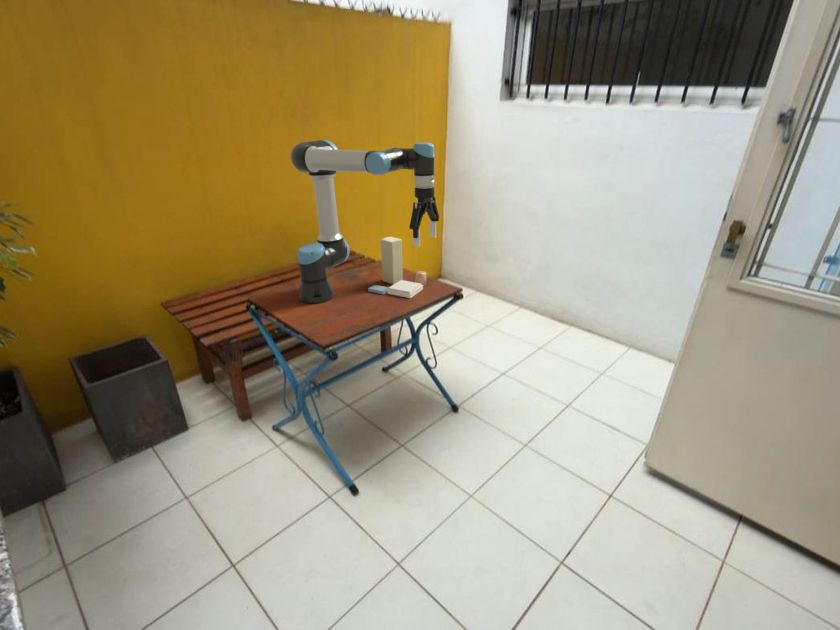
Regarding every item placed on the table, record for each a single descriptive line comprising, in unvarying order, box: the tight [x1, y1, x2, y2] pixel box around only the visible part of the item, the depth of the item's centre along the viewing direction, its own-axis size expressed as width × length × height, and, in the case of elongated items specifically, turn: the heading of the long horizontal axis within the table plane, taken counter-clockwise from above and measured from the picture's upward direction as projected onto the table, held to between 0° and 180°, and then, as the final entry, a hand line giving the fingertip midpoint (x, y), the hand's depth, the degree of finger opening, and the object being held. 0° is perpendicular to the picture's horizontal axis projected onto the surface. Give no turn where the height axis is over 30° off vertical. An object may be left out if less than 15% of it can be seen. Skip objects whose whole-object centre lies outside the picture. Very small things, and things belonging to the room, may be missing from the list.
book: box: [367, 284, 390, 295], centre depth 199 cm, size 8×5×2 cm, turn 61°
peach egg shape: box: [415, 270, 427, 287], centre depth 204 cm, size 5×5×6 cm
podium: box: [386, 279, 424, 299], centre depth 198 cm, size 12×12×3 cm
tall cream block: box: [380, 236, 404, 285], centre depth 206 cm, size 8×7×21 cm
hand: (425, 241), depth 172 cm, fingers open, 13 cm apart
